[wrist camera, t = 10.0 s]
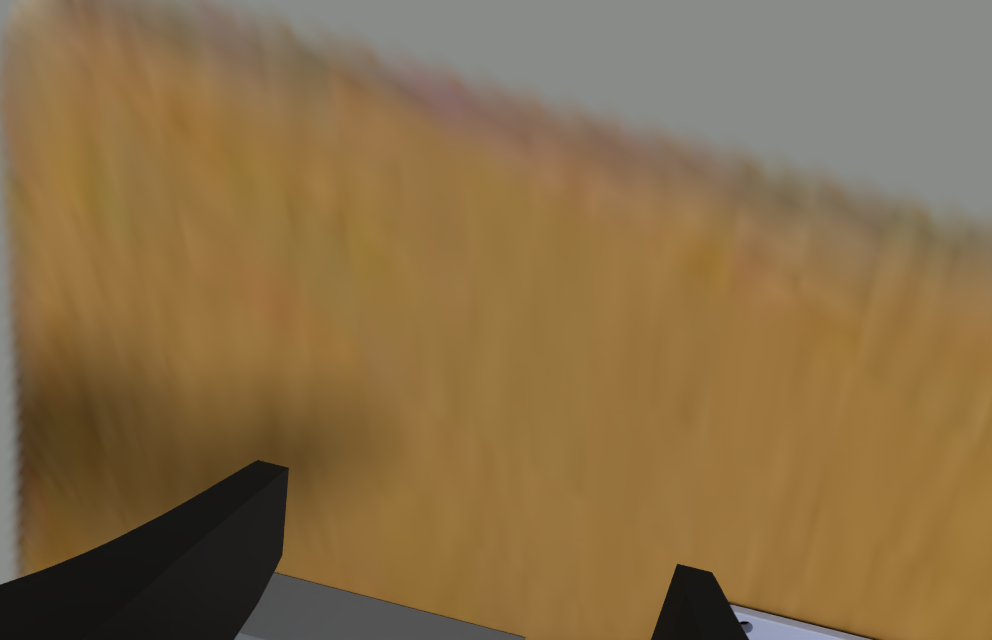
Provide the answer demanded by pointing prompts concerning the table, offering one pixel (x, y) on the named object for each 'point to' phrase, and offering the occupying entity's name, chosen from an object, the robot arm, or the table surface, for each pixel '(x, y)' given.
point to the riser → (347, 617)
